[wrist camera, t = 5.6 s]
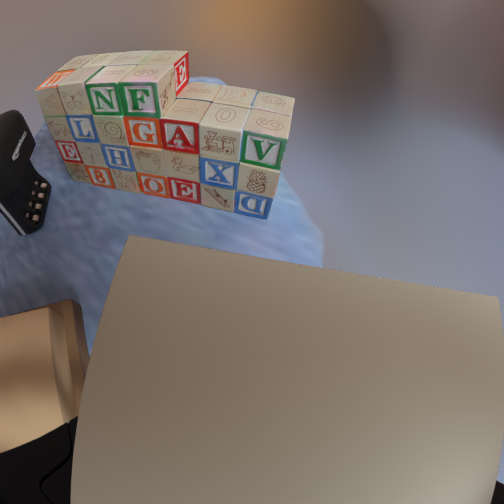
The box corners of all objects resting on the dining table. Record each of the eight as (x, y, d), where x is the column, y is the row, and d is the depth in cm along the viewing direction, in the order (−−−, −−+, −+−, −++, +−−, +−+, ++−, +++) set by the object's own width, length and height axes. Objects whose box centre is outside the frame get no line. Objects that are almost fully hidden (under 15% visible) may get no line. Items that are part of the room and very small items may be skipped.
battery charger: (48, 233, 22) (-9, 148, 13) (19, 239, 22) (-39, 162, 12) (59, 180, 26) (22, 97, 16) (33, 187, 25) (-8, 110, 15)
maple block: (90, 454, 13) (74, 459, 11) (-5, 449, 11) (-24, 449, 8) (64, 318, 17) (48, 307, 15) (-20, 334, 15) (-38, 325, 13)
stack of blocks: (277, 174, 29) (304, 67, 18) (267, 222, 26) (298, 103, 15) (98, 143, 29) (75, 54, 18) (70, 182, 26) (32, 88, 15)
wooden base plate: (120, 454, 15) (108, 460, 13) (10, 458, 12) (-6, 460, 10) (84, 309, 20) (71, 298, 18) (-12, 333, 17) (-28, 325, 15)
